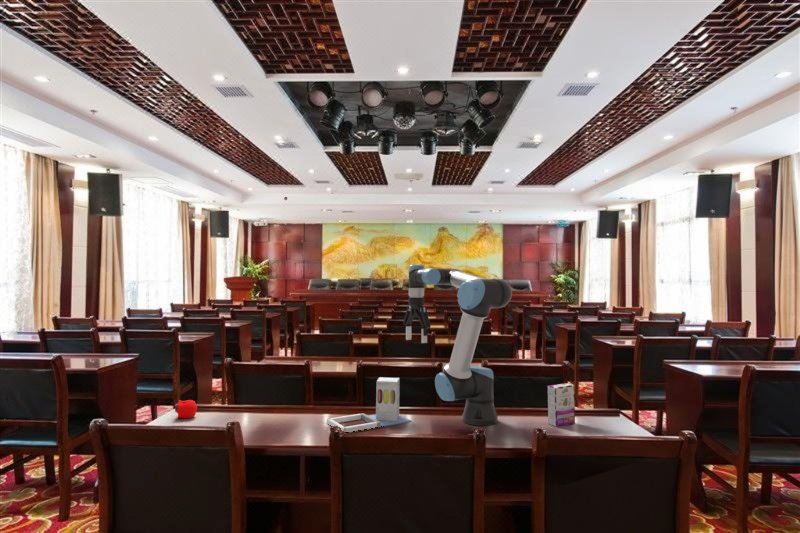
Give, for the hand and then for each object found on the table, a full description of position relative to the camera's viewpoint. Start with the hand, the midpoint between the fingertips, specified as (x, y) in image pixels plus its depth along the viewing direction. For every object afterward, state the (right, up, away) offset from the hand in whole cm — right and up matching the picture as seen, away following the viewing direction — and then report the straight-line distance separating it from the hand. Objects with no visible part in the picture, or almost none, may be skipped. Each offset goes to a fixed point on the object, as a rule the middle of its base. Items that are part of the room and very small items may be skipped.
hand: (416, 341), depth 230 cm
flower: (-102, -31, -19) cm, 108 cm away
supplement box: (-13, -31, -20) cm, 39 cm away
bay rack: (-20, -31, -25) cm, 45 cm away
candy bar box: (+61, -31, -26) cm, 73 cm away
